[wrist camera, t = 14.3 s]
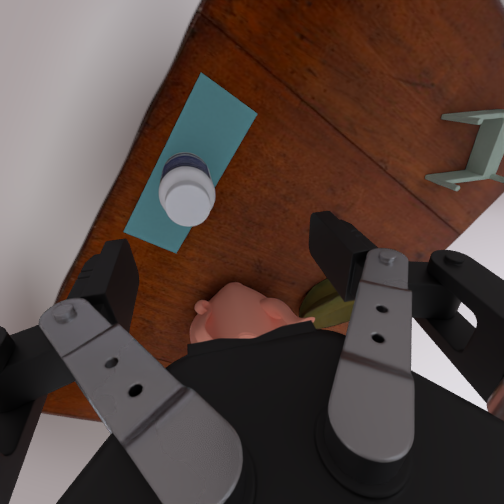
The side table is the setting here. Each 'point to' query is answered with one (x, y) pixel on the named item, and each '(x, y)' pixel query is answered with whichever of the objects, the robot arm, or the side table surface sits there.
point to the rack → (477, 149)
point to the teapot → (239, 315)
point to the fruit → (325, 306)
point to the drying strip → (199, 143)
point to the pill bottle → (186, 189)
